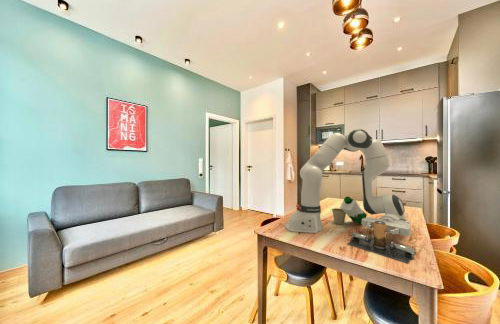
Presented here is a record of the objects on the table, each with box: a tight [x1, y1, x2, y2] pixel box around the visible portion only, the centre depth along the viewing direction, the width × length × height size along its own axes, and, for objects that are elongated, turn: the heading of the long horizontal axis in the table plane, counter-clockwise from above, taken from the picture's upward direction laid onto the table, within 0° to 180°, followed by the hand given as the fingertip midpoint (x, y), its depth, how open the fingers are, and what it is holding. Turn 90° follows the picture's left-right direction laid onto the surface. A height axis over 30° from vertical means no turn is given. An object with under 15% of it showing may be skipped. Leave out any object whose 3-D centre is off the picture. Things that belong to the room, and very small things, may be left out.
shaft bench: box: [346, 231, 417, 264], centre depth 93 cm, size 25×14×5 cm, turn 40°
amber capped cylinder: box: [373, 221, 387, 250], centre depth 93 cm, size 5×5×12 cm
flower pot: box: [331, 208, 347, 225], centre depth 131 cm, size 9×9×9 cm
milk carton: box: [339, 196, 368, 225], centre depth 127 cm, size 9×9×20 cm
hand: (379, 229), depth 92 cm, fingers open, 8 cm apart
